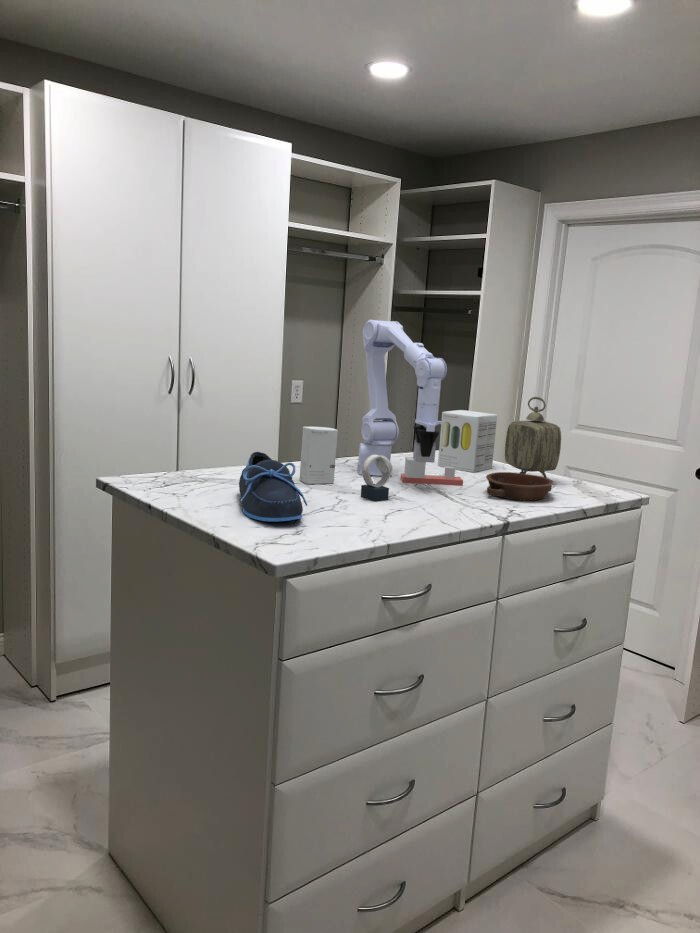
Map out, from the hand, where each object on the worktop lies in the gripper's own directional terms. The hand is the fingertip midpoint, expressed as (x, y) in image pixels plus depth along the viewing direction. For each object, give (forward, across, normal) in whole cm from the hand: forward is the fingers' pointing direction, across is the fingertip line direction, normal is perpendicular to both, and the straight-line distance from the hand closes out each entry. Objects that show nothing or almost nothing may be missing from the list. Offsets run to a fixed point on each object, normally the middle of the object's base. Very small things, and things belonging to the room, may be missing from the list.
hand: (423, 454), depth 203 cm
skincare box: (+10, +3, +28) cm, 30 cm away
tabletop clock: (+10, +19, -35) cm, 41 cm away
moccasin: (+10, -29, +39) cm, 50 cm away
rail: (+9, +10, -4) cm, 14 cm away
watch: (+10, -14, +14) cm, 22 cm away
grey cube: (+2, 0, 0) cm, 2 cm away
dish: (+10, -2, -26) cm, 28 cm away
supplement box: (+10, +37, -20) cm, 43 cm away
